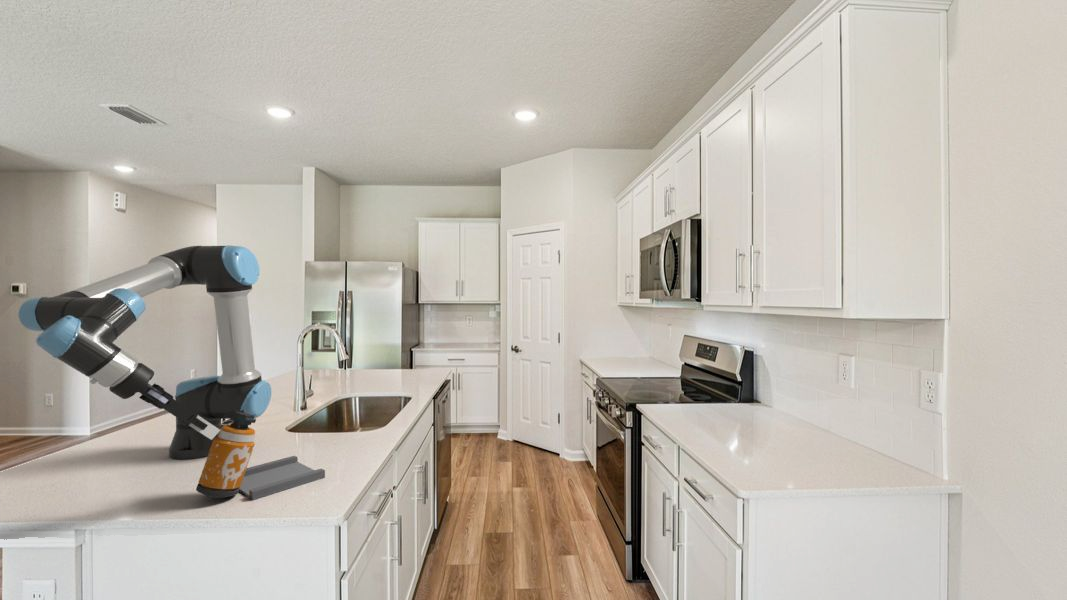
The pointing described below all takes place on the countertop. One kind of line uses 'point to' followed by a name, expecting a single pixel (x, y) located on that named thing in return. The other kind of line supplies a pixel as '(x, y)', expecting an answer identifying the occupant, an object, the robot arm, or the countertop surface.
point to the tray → (277, 477)
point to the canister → (228, 456)
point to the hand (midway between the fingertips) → (215, 434)
